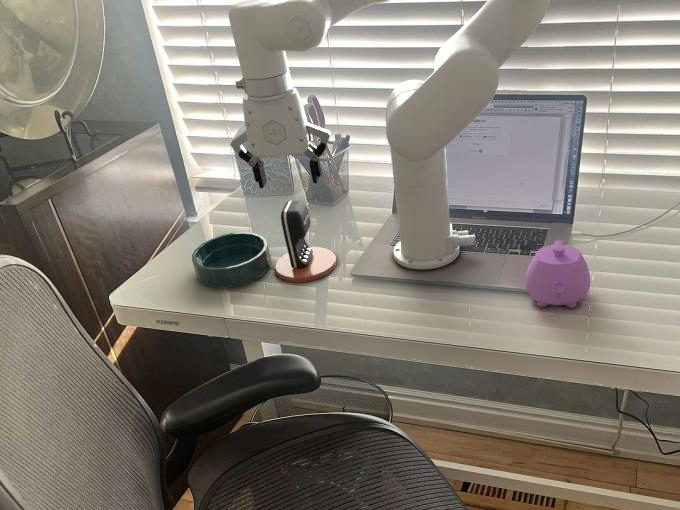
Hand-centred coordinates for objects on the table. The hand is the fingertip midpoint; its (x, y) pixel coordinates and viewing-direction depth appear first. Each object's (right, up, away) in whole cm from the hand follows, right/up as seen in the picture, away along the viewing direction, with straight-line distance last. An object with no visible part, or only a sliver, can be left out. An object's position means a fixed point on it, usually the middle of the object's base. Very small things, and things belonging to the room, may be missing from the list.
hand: (289, 182), depth 122 cm
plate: (+2, -14, +9) cm, 17 cm away
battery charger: (+1, -13, +9) cm, 16 cm away
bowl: (-12, -15, +11) cm, 22 cm away
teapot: (+46, -21, -8) cm, 51 cm away
